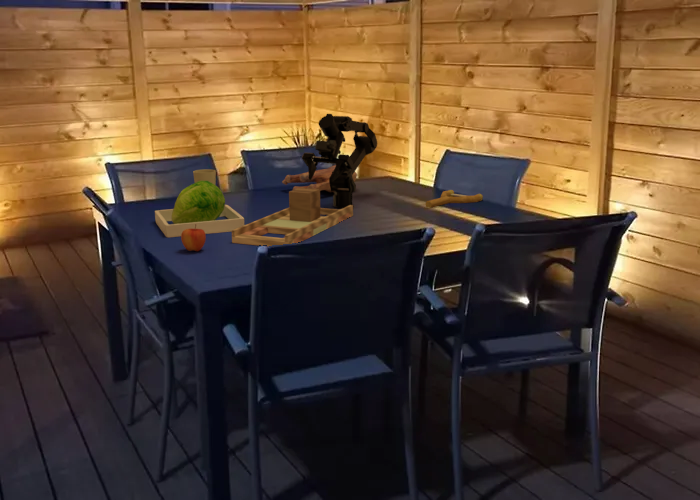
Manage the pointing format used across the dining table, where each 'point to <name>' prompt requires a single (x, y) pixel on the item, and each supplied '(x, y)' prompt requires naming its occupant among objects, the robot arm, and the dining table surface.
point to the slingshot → (453, 199)
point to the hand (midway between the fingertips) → (320, 180)
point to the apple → (193, 239)
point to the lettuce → (198, 203)
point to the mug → (205, 175)
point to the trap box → (288, 227)
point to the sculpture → (314, 179)
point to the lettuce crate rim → (199, 223)
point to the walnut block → (304, 204)
